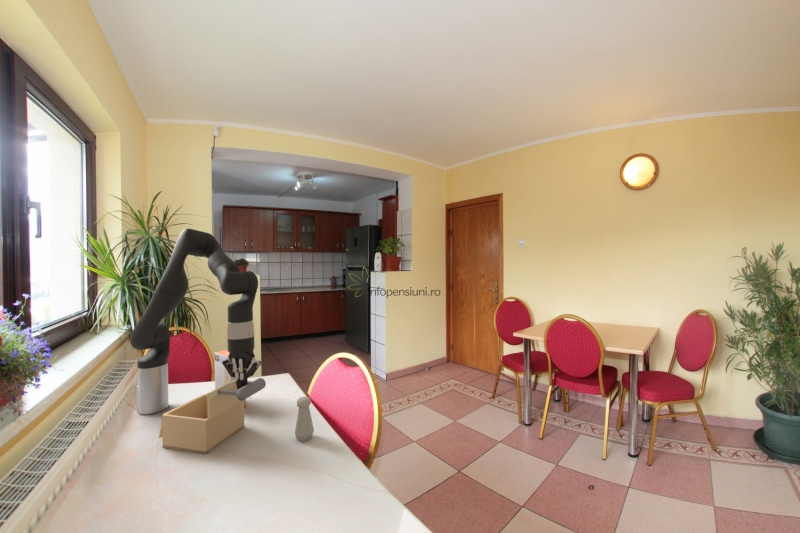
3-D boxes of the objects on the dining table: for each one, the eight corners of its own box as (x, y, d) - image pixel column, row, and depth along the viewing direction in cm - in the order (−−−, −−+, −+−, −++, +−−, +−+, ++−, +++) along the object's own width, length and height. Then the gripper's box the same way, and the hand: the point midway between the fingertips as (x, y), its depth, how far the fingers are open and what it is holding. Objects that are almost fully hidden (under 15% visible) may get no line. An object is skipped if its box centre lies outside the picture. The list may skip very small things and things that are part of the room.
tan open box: (156, 446, 99) (156, 414, 99) (200, 421, 115) (199, 393, 114) (206, 454, 95) (205, 420, 95) (244, 426, 110) (243, 397, 110)
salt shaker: (317, 435, 105) (316, 395, 104) (306, 444, 99) (306, 403, 99) (302, 432, 106) (301, 393, 106) (291, 441, 101) (290, 400, 101)
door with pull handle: (206, 390, 95) (238, 393, 92) (242, 373, 109) (271, 375, 107) (207, 419, 95) (239, 423, 92) (243, 398, 110) (271, 401, 107)
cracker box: (246, 407, 125) (245, 354, 125) (230, 413, 120) (229, 358, 120) (230, 398, 134) (229, 348, 133) (214, 403, 129) (213, 351, 128)
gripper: (213, 337, 98) (215, 393, 99) (251, 339, 95) (252, 397, 96) (231, 332, 106) (233, 384, 106) (267, 333, 103) (268, 387, 103)
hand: (242, 390), depth 101 cm, fingers closed
